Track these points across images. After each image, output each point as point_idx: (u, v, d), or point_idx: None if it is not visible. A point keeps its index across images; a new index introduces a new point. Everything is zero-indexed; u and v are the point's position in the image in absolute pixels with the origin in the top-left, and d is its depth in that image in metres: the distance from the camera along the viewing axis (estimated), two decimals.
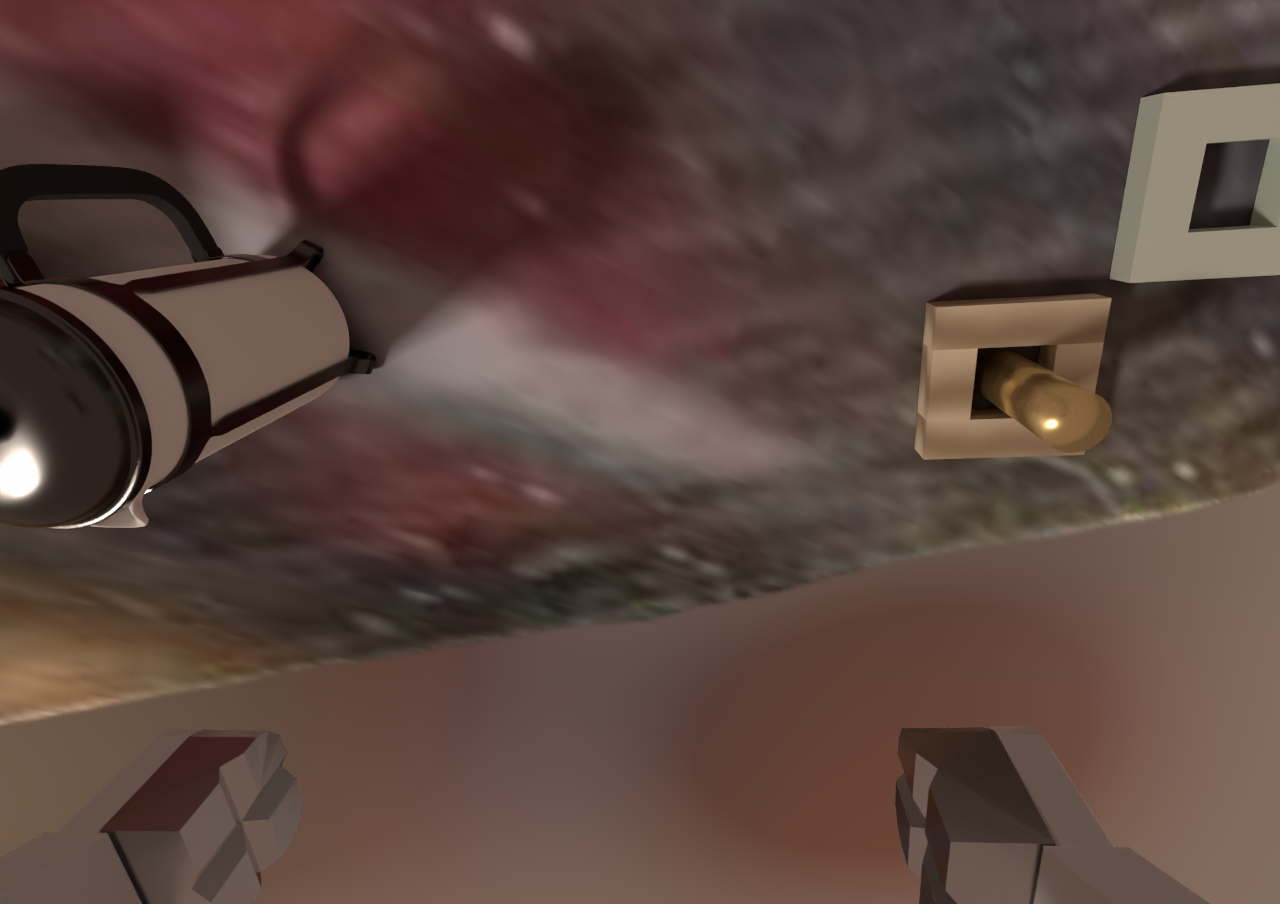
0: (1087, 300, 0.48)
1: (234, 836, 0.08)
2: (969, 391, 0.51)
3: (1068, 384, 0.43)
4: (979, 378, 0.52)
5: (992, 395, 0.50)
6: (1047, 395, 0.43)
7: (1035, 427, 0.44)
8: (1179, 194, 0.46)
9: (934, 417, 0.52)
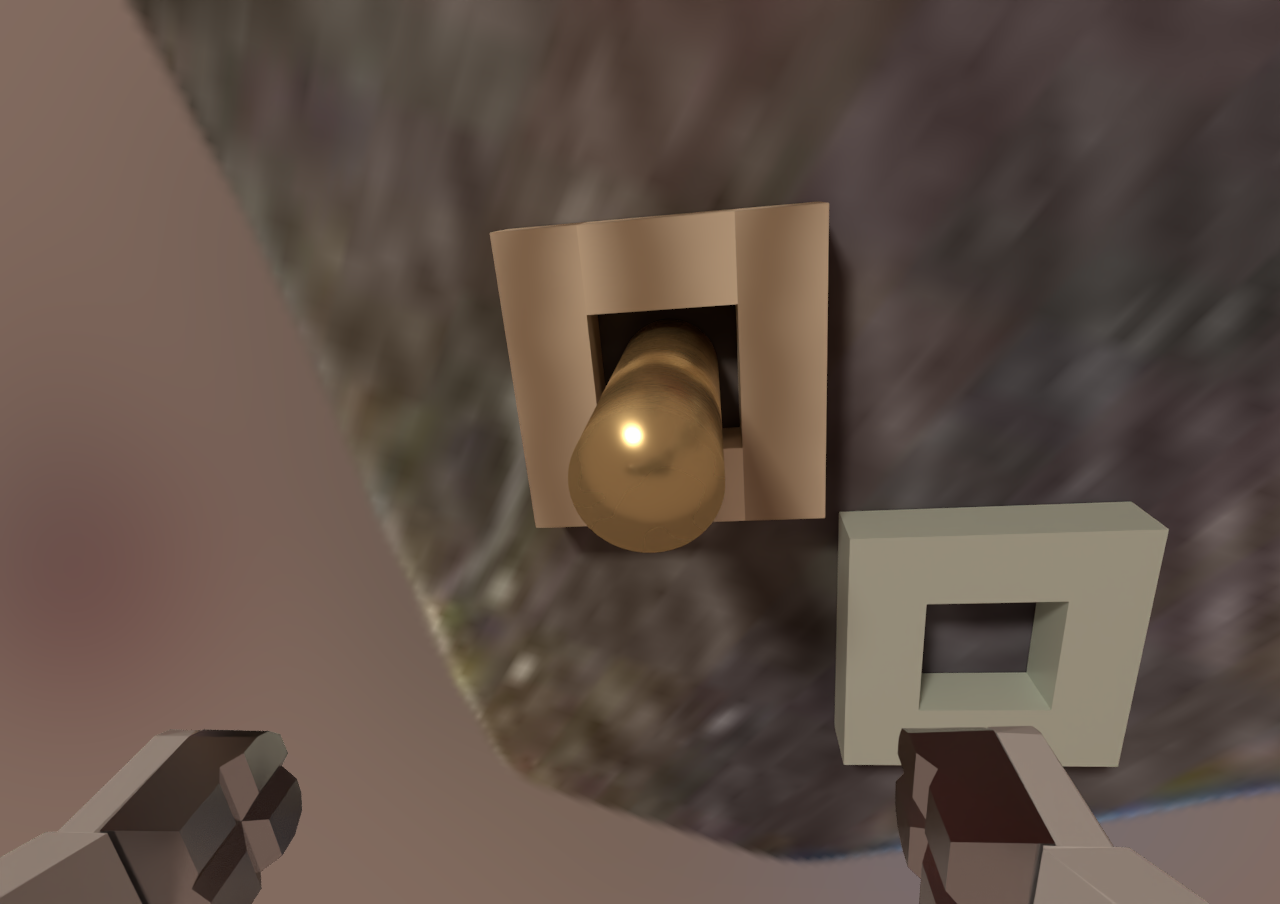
0: (823, 481, 0.27)
1: (234, 836, 0.08)
2: (646, 303, 0.25)
3: None
4: (668, 325, 0.26)
5: (646, 341, 0.24)
6: (700, 412, 0.18)
7: (618, 399, 0.18)
8: (992, 581, 0.28)
9: (586, 240, 0.24)
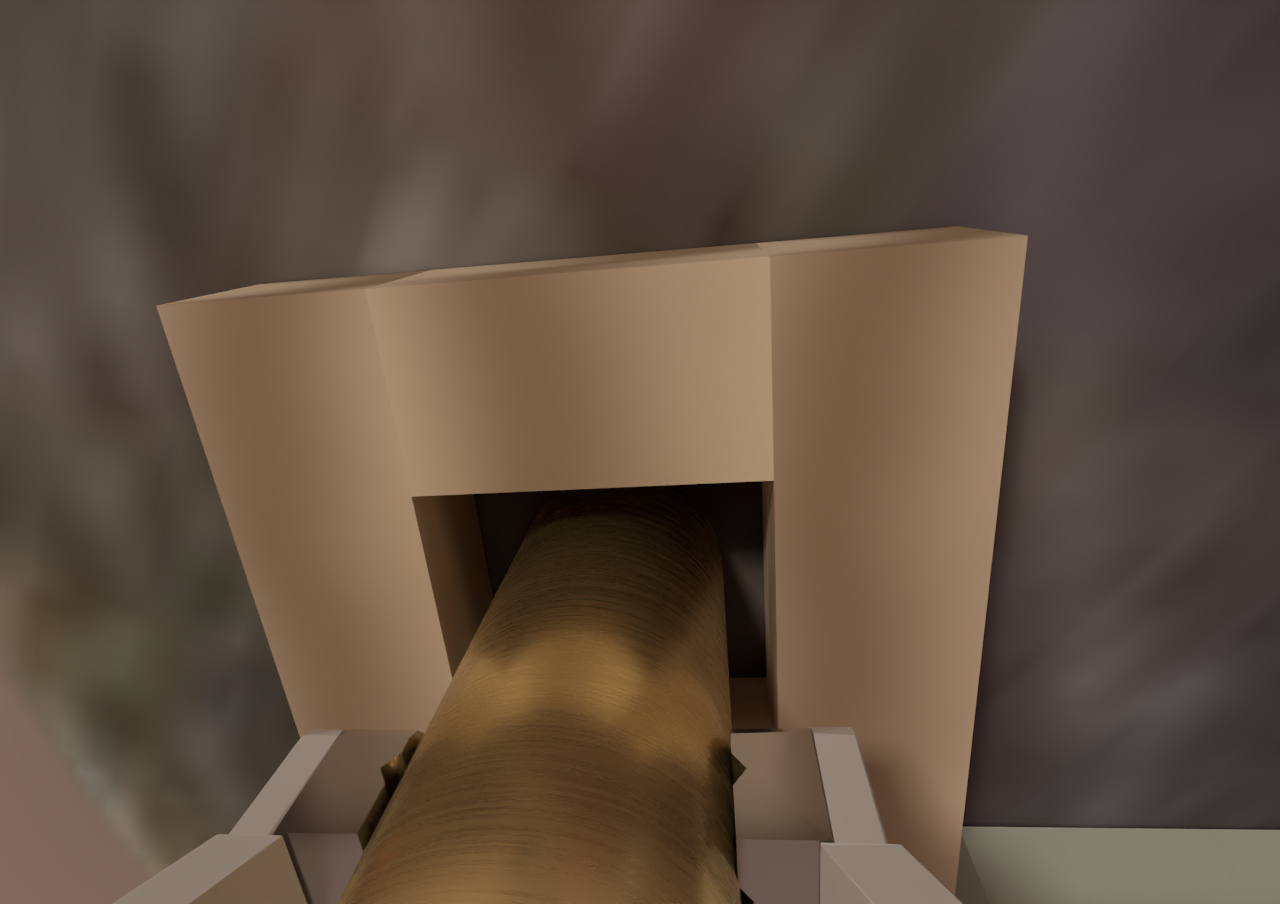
0: (956, 840, 0.12)
1: None
2: (551, 474, 0.10)
3: None
4: (611, 505, 0.12)
5: (542, 589, 0.09)
6: None
7: None
8: None
9: (393, 325, 0.10)
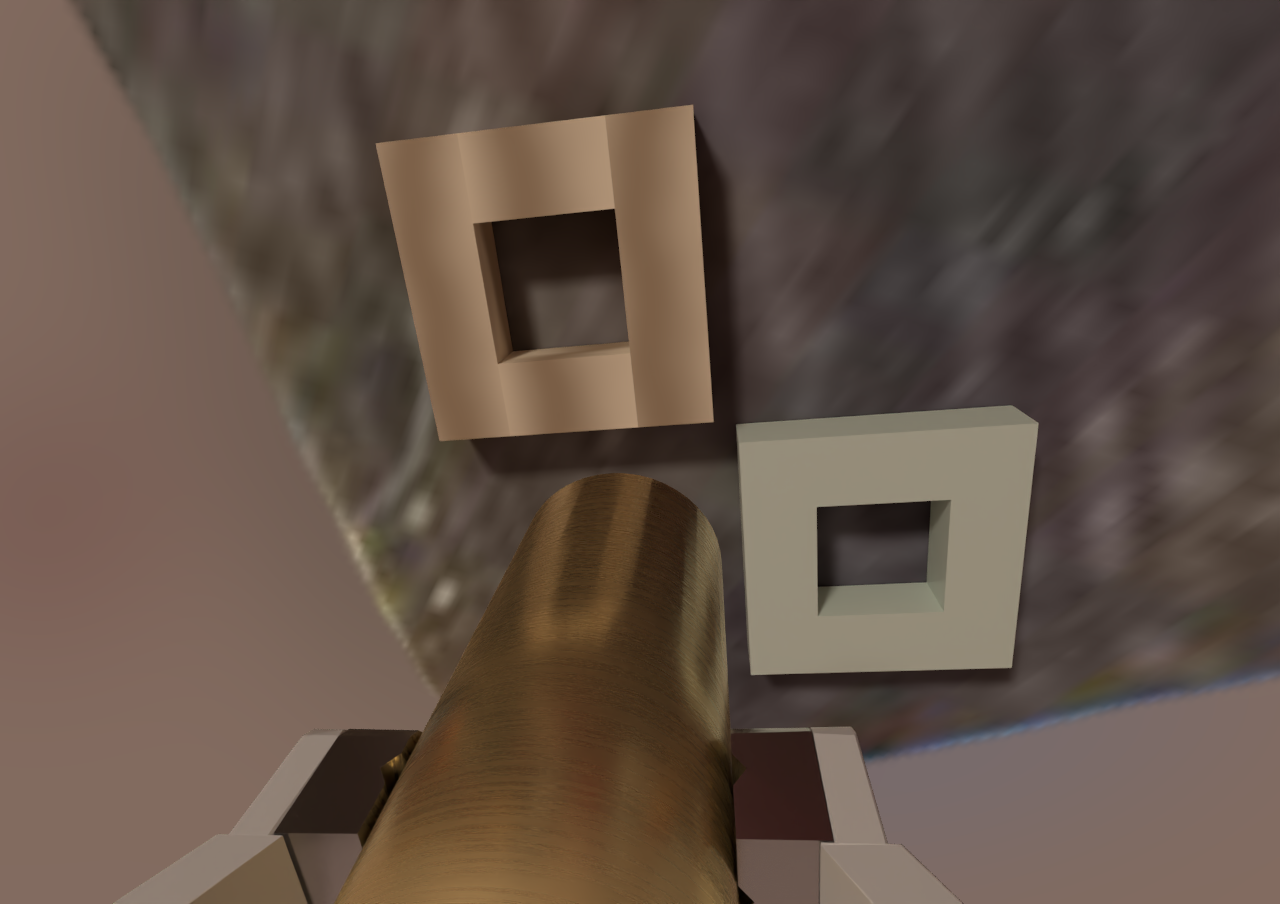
0: (709, 385, 0.28)
1: None
2: (528, 210, 0.26)
3: None
4: (610, 504, 0.12)
5: (541, 588, 0.09)
6: None
7: None
8: (876, 481, 0.29)
9: (467, 148, 0.25)
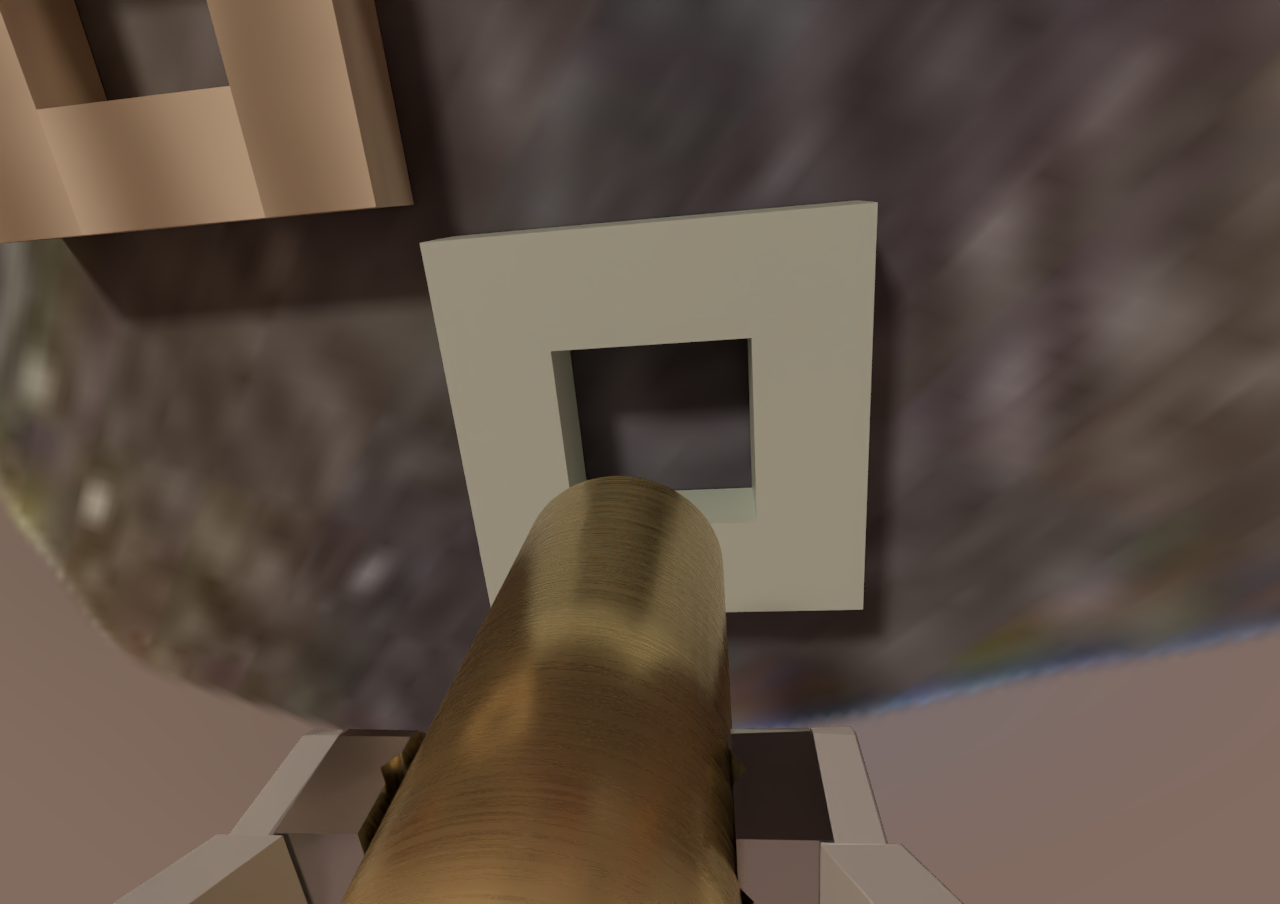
0: (359, 141, 0.17)
1: None
2: None
3: None
4: (611, 507, 0.12)
5: (543, 592, 0.09)
6: None
7: None
8: (635, 307, 0.18)
9: None
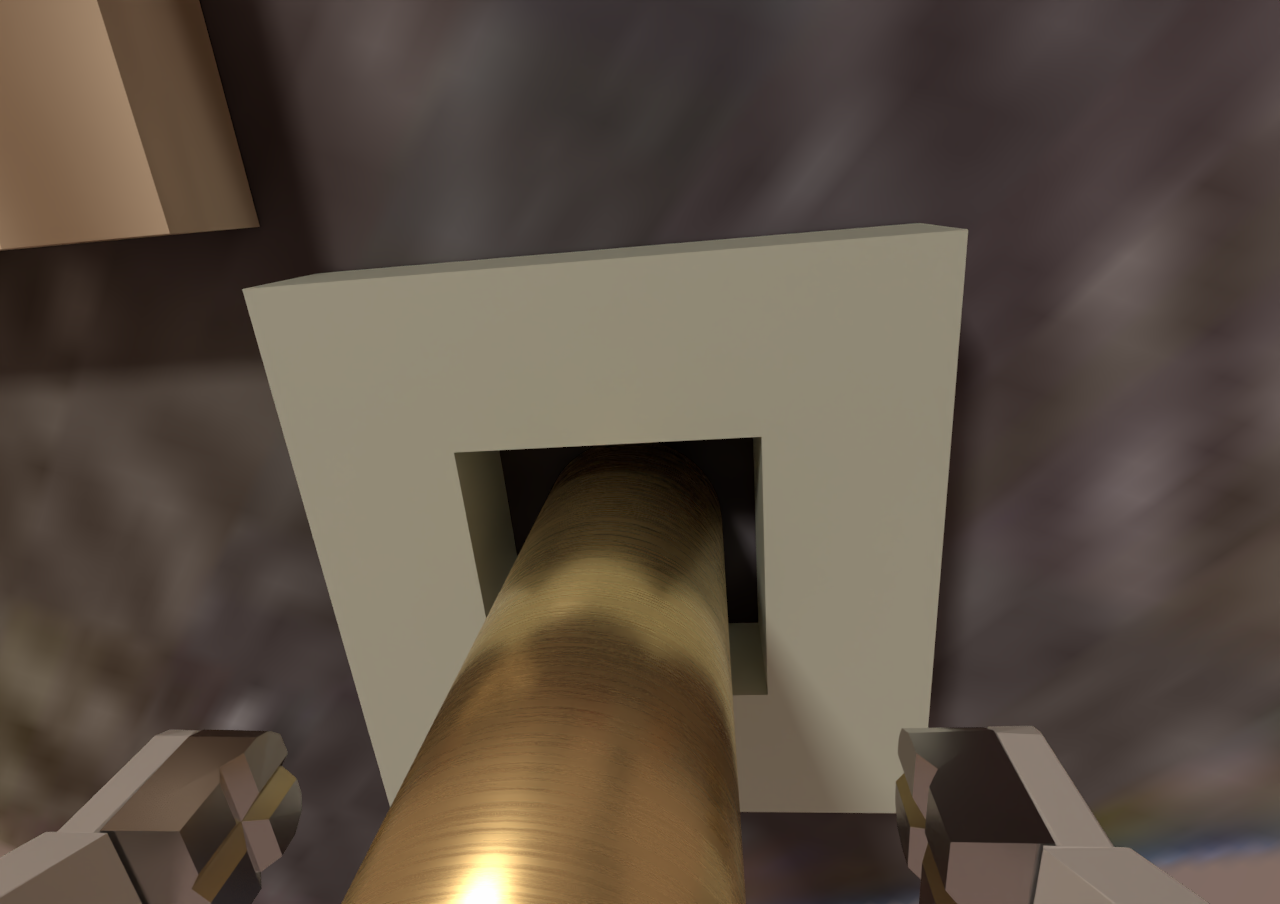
0: (132, 129, 0.11)
1: (234, 836, 0.08)
2: None
3: None
4: (625, 462, 0.13)
5: (571, 524, 0.11)
6: None
7: None
8: (581, 390, 0.12)
9: None
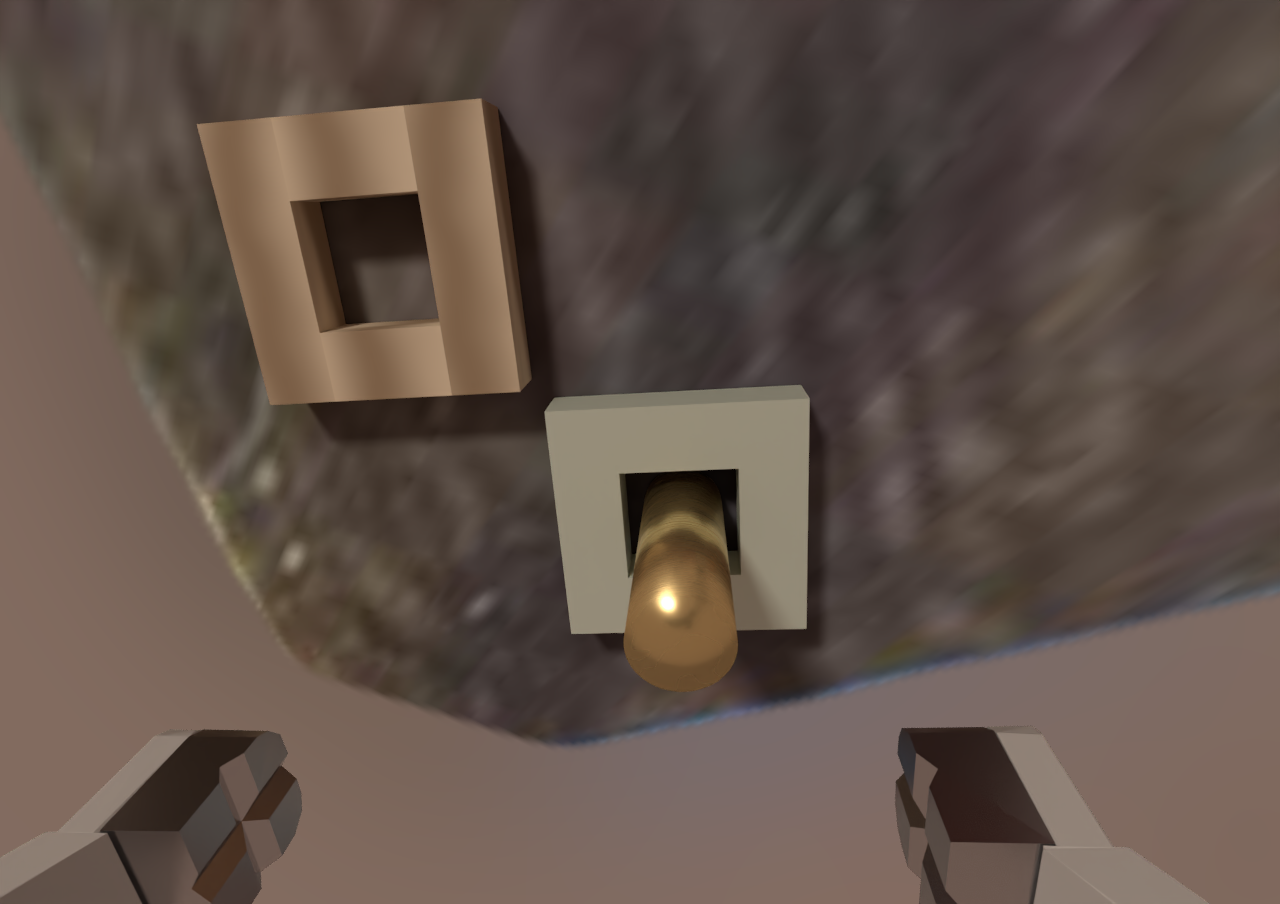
0: (513, 357, 0.30)
1: (234, 836, 0.08)
2: (339, 190, 0.28)
3: None
4: (683, 478, 0.33)
5: (669, 500, 0.31)
6: (719, 589, 0.24)
7: (659, 579, 0.24)
8: (671, 450, 0.31)
9: (280, 131, 0.28)
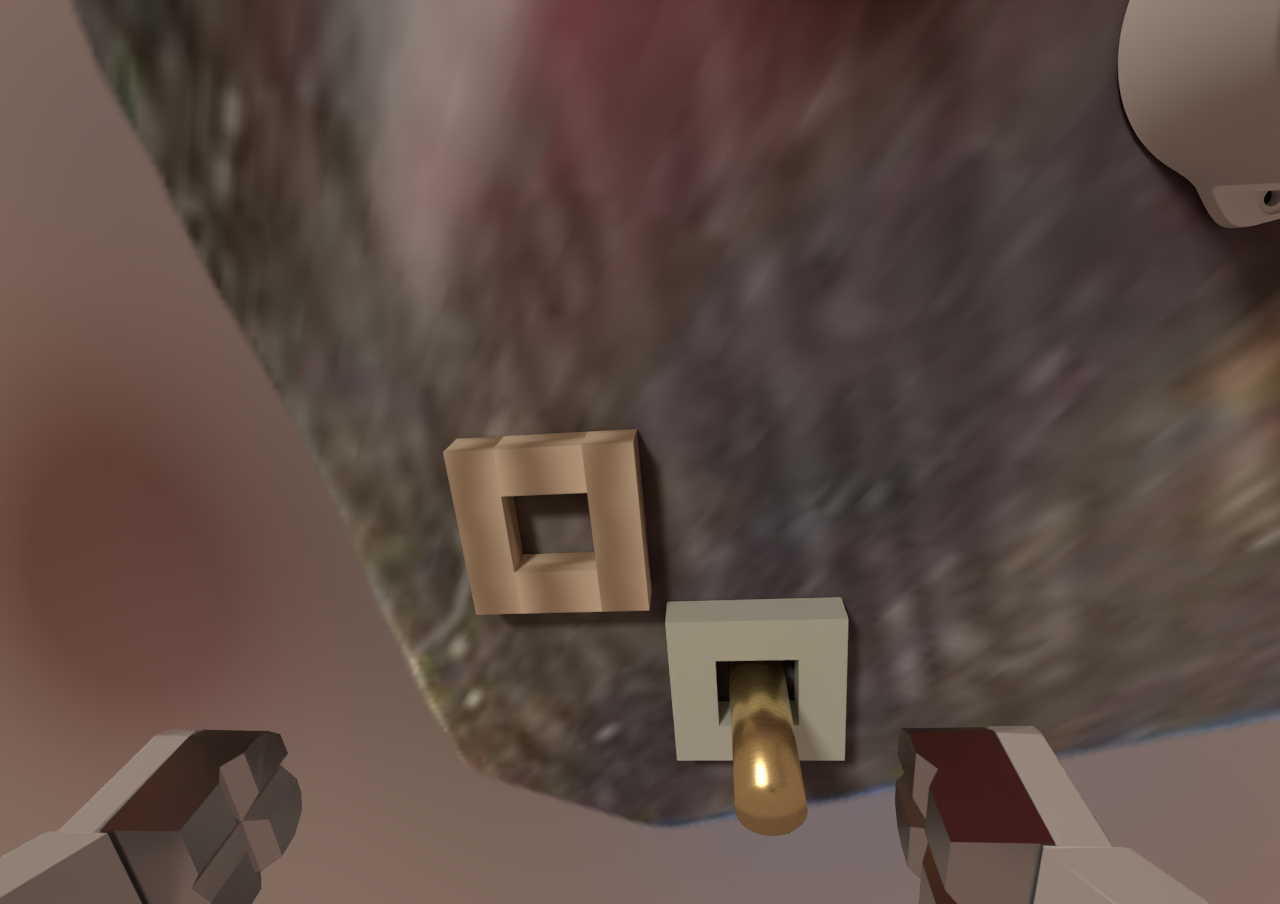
0: (646, 589, 0.45)
1: (234, 836, 0.08)
2: (535, 491, 0.43)
3: None
4: None
5: (751, 684, 0.45)
6: (794, 772, 0.39)
7: (757, 766, 0.39)
8: (752, 647, 0.46)
9: (498, 457, 0.42)
